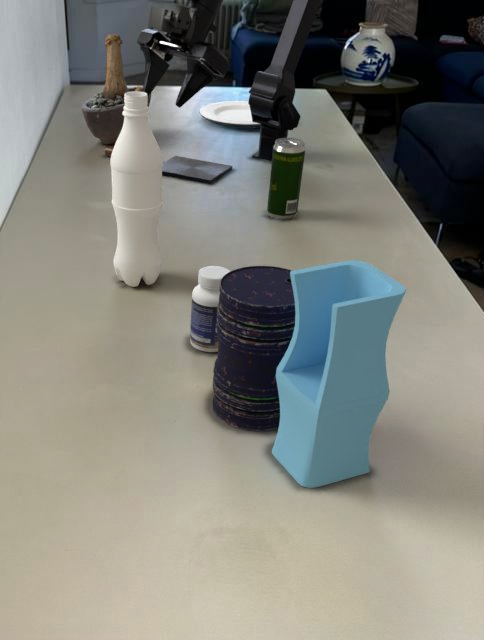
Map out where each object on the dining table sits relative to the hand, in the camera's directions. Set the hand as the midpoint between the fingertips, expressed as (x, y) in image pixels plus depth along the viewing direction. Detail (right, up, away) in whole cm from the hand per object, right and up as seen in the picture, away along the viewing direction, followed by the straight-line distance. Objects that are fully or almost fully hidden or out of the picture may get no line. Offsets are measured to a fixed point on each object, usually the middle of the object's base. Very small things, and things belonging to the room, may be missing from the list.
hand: (160, 101), depth 135 cm
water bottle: (-3, -39, -21) cm, 44 cm away
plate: (+20, +20, +46) cm, 54 cm away
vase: (+17, -68, -54) cm, 89 cm away
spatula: (0, -3, +19) cm, 19 cm away
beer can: (+21, -21, -1) cm, 30 cm away
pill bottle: (+6, -51, -36) cm, 63 cm away
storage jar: (+11, -61, -47) cm, 78 cm away
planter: (-9, +9, +33) cm, 35 cm away
